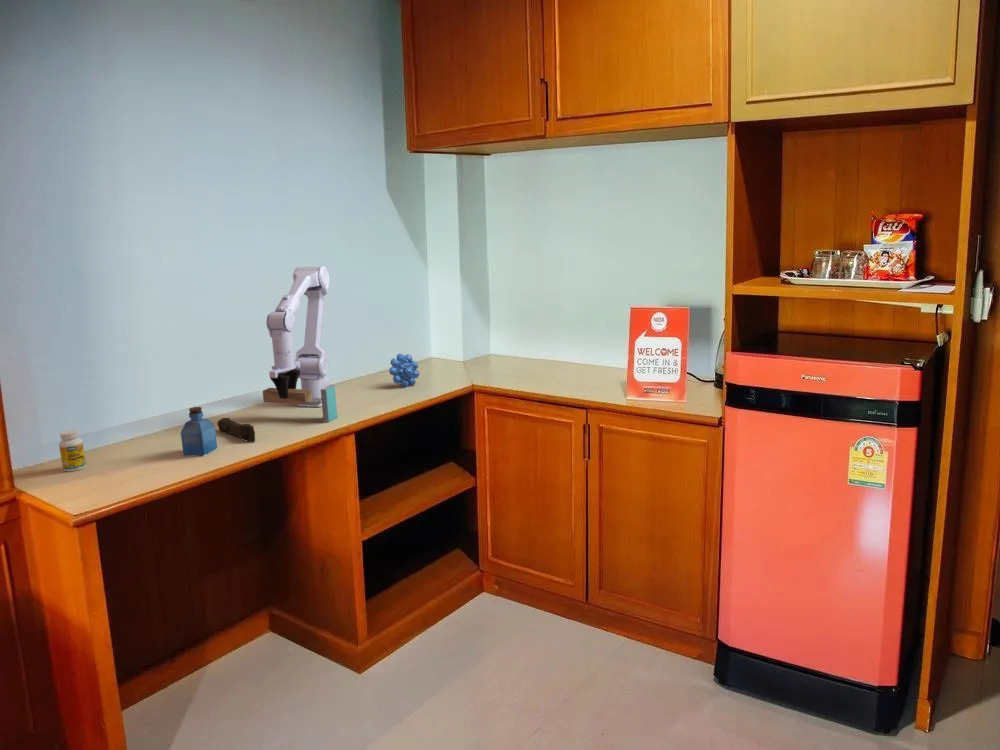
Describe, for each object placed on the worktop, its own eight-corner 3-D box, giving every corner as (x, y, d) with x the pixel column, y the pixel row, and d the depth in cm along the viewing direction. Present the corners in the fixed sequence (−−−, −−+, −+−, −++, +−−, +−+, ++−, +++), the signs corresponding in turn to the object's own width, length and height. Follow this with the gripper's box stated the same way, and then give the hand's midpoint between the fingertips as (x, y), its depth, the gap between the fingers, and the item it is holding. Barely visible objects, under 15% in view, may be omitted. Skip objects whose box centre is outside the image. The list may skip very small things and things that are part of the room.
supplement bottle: (81, 463, 213) (75, 428, 211) (90, 467, 209) (84, 431, 207) (59, 469, 209) (53, 433, 207) (68, 473, 206) (62, 436, 203)
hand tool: (218, 432, 238) (216, 416, 237) (231, 429, 241) (229, 413, 240) (245, 445, 224) (243, 429, 223) (258, 442, 226) (257, 426, 225)
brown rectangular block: (271, 398, 252) (270, 387, 251) (324, 401, 247) (324, 390, 246) (262, 402, 247) (261, 391, 246) (317, 405, 242) (316, 394, 242)
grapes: (397, 392, 277) (395, 357, 274) (387, 388, 282) (384, 354, 279) (426, 386, 284) (424, 351, 281) (415, 383, 289) (413, 349, 286)
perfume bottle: (217, 448, 221) (212, 405, 218) (204, 456, 215) (199, 411, 213) (197, 448, 222) (191, 405, 220) (183, 455, 216) (177, 411, 214)
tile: (332, 417, 248) (329, 384, 246) (337, 417, 248) (334, 384, 246) (323, 422, 243) (320, 389, 241) (328, 422, 242) (325, 389, 240)
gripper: (283, 347, 252) (287, 390, 255) (258, 356, 239) (263, 401, 242) (304, 347, 250) (308, 390, 253) (279, 356, 237) (284, 402, 240)
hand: (287, 396), depth 247 cm, fingers closed on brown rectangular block, 4 cm apart
